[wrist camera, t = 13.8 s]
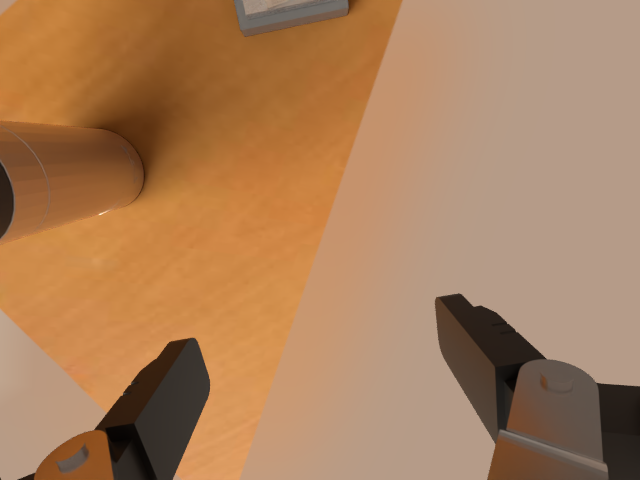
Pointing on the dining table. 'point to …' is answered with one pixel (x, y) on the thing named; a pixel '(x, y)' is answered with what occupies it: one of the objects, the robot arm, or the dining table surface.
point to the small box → (274, 2)
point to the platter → (276, 7)
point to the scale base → (289, 17)
